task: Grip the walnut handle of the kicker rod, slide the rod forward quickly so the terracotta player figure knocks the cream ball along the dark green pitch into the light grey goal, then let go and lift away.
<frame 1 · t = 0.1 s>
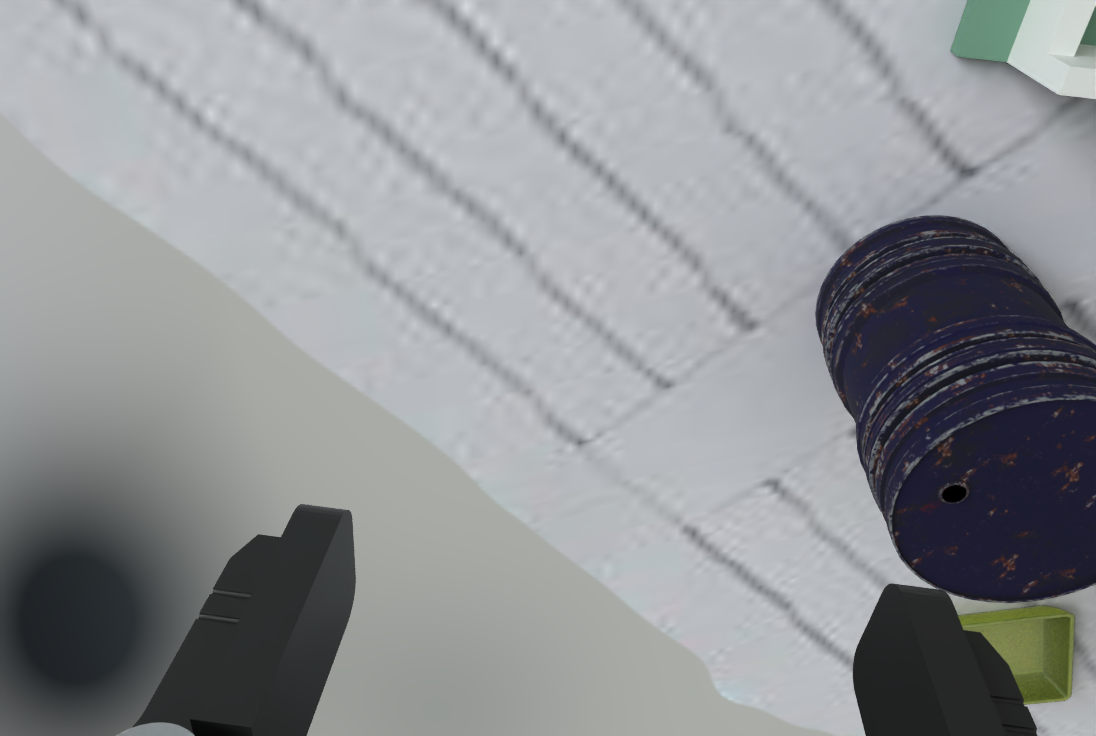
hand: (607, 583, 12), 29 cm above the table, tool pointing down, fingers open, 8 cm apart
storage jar: (913, 303, 42), on the table
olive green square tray: (986, 638, 55), on the table
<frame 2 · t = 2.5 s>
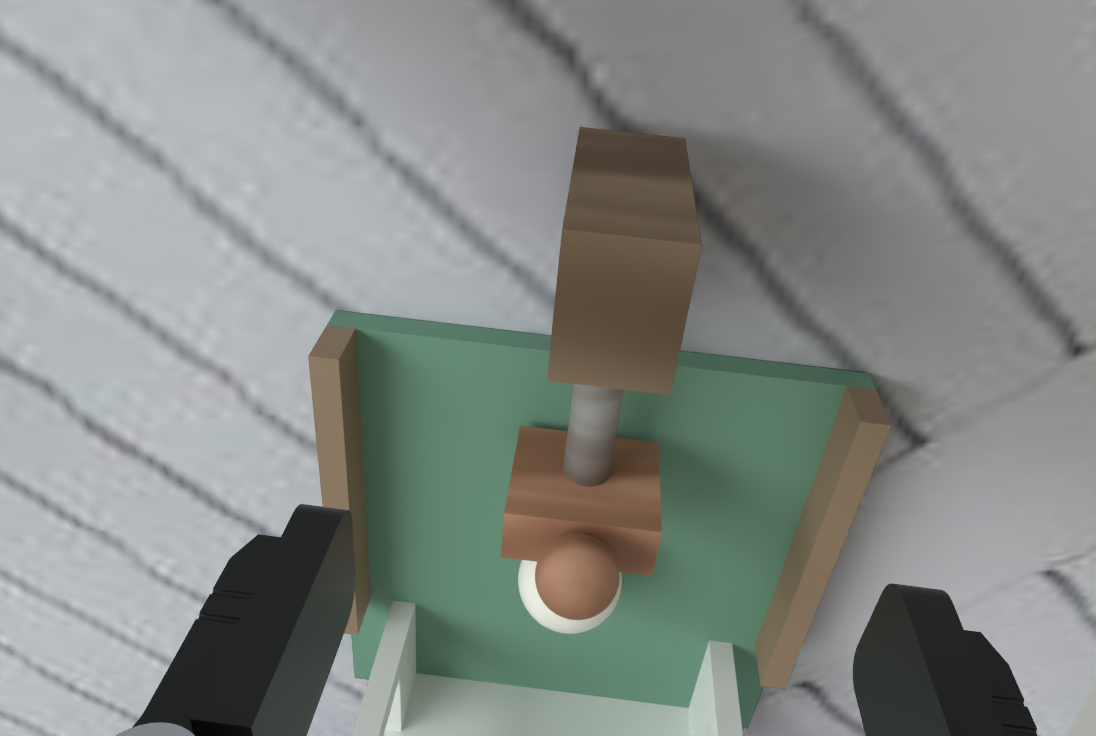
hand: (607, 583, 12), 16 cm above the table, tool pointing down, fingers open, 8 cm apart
kicker: (600, 393, 24), point 5 cm above the table, slide at 0.0 cm
ball: (569, 579, 32), point 3 cm above the table, touching pitch
pitch: (572, 540, 35), on the table
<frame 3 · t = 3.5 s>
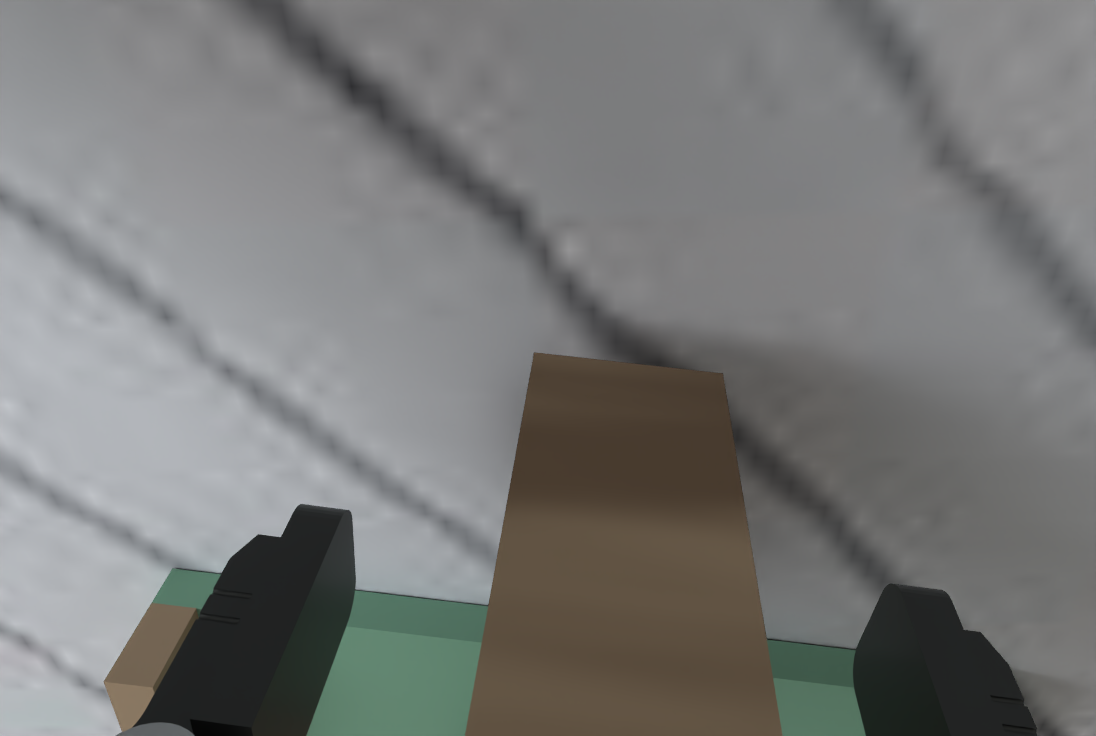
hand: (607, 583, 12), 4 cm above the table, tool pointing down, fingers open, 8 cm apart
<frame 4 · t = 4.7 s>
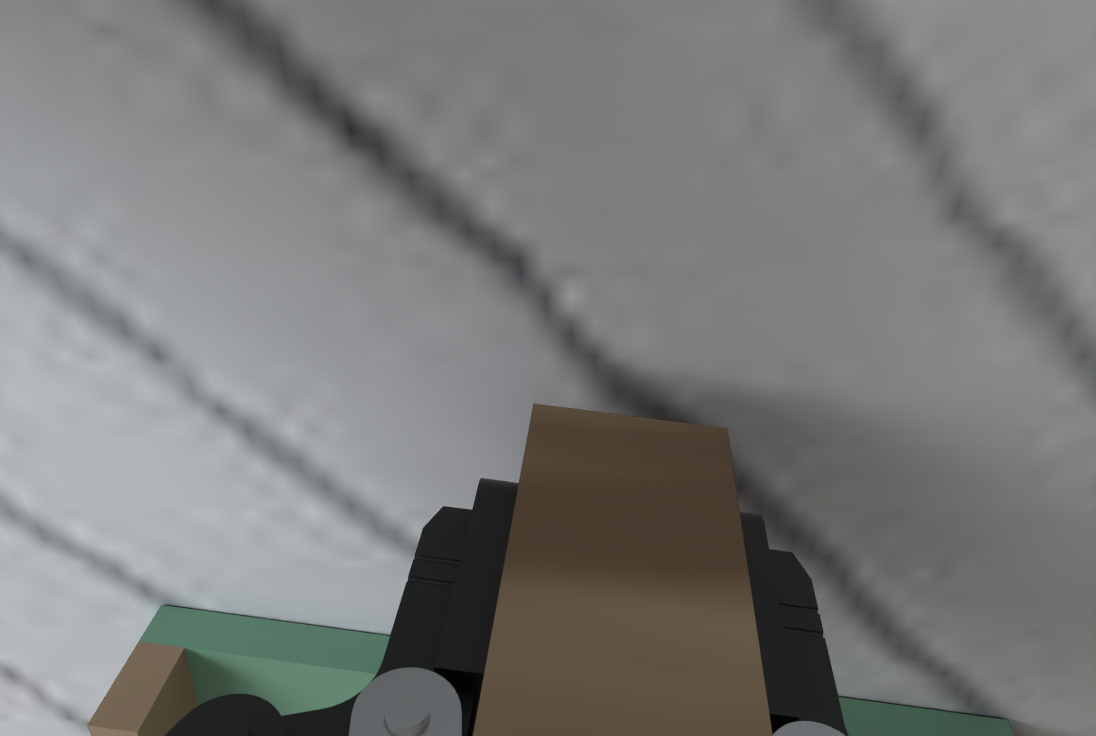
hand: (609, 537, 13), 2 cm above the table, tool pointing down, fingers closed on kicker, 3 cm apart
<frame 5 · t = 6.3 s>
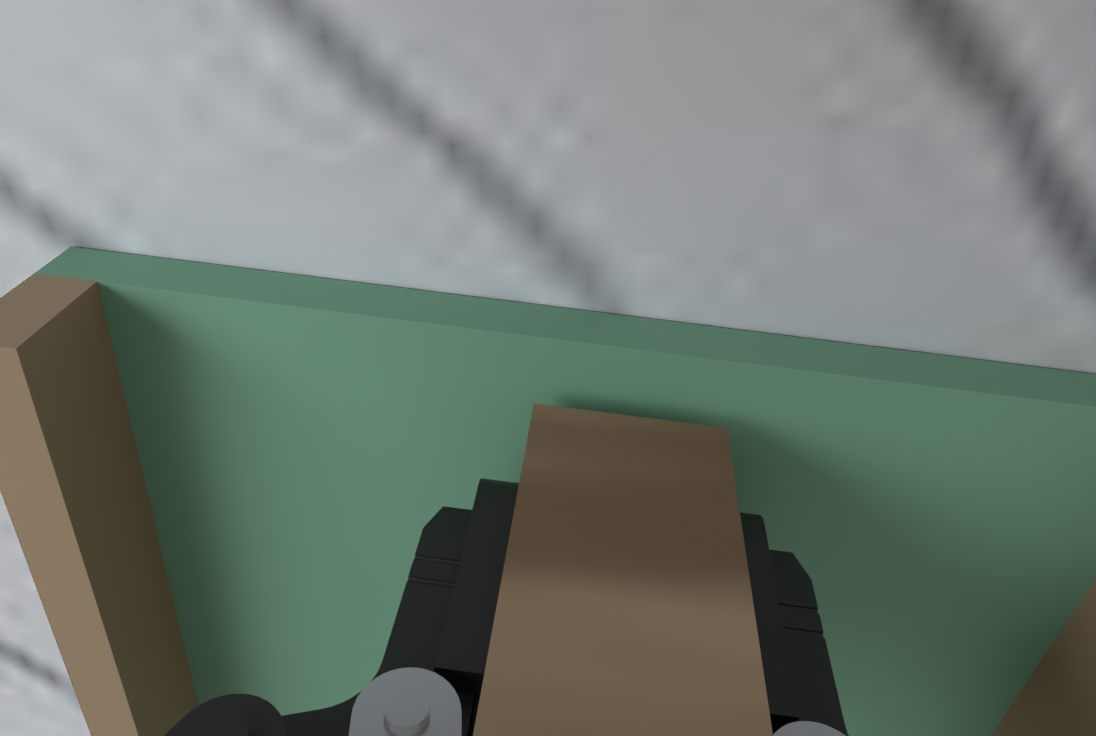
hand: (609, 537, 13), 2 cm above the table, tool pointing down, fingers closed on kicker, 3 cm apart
pitch: (573, 692, 19), on the table
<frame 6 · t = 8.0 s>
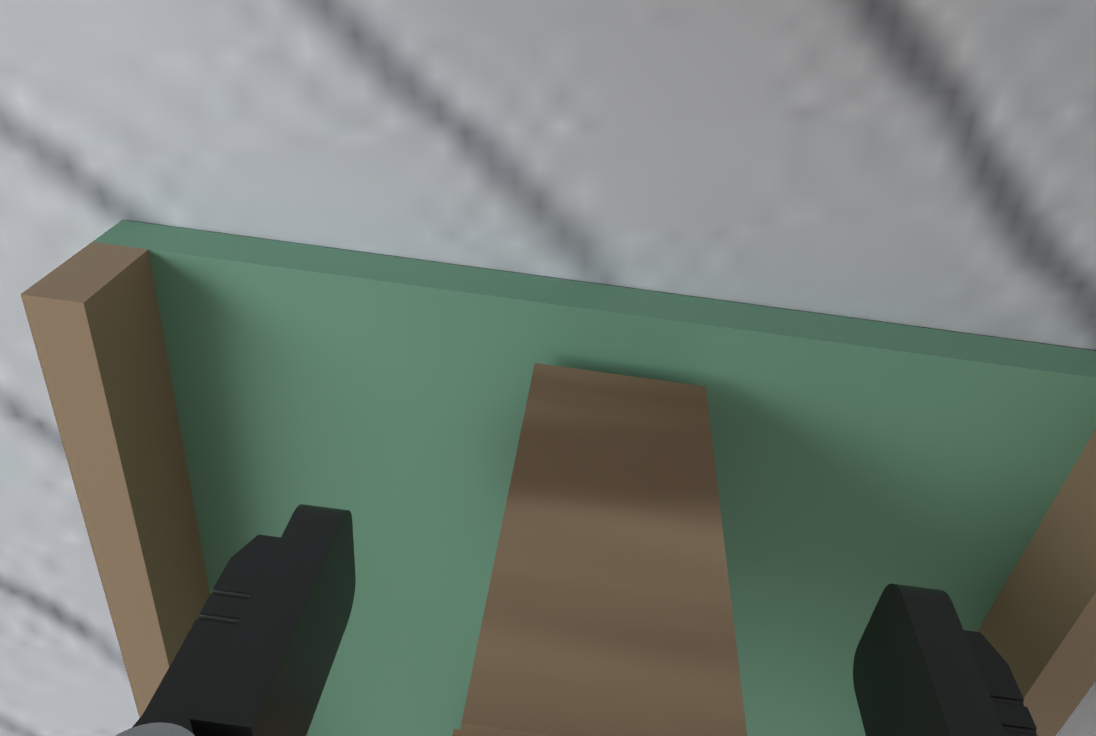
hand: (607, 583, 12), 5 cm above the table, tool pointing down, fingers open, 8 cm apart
pitch: (567, 643, 21), on the table
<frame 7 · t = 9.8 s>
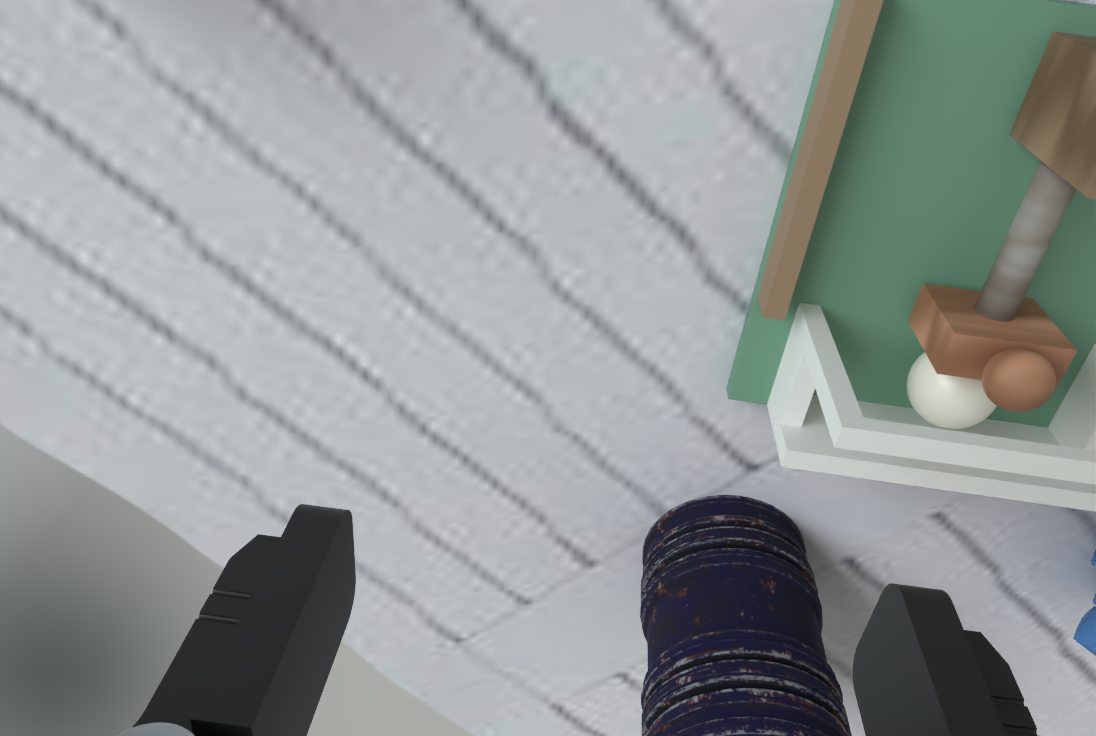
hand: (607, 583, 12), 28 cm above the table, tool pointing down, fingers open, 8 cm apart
kicker: (1053, 234, 32), point 5 cm above the table, slide at 8.9 cm
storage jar: (722, 553, 50), on the table
ball: (953, 385, 38), point 3 cm above the table, tilted 162°, touching pitch
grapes: (1091, 541, 47), on the table
pitch: (983, 238, 38), on the table
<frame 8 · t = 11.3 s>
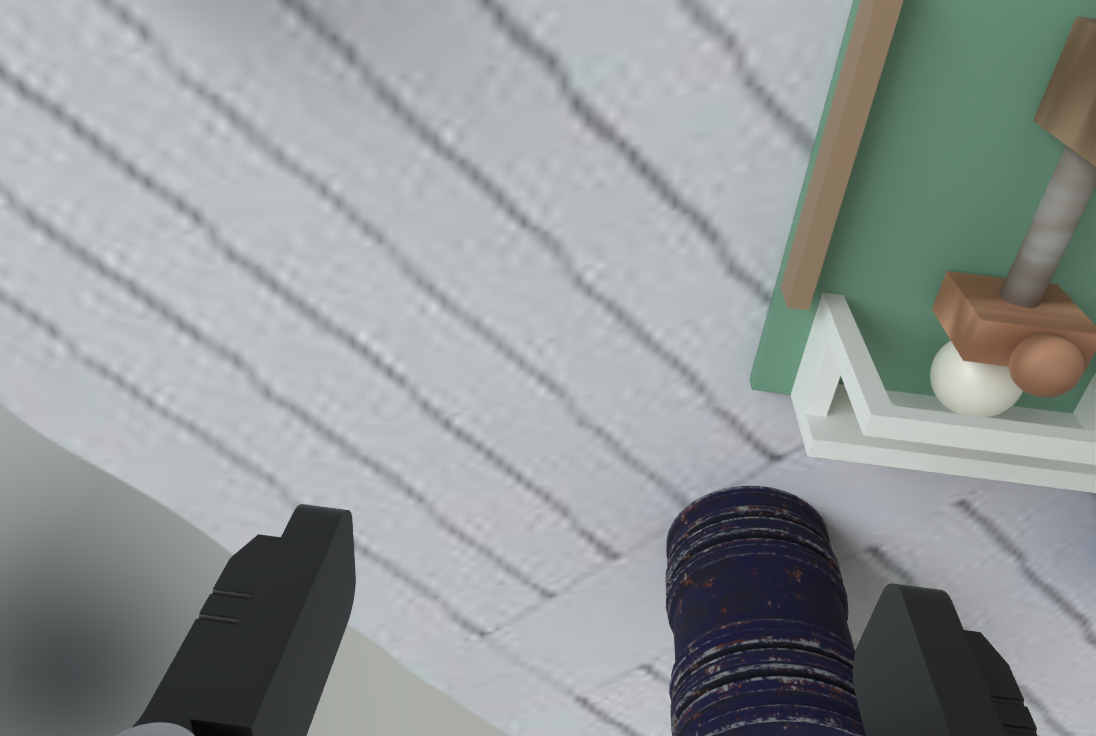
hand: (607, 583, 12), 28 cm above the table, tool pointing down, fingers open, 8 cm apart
kicker: (1079, 219, 32), point 5 cm above the table, slide at 8.9 cm
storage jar: (745, 543, 50), on the table
ball: (977, 375, 39), point 3 cm above the table, tilted 159°, touching pitch
pitch: (1006, 225, 38), on the table
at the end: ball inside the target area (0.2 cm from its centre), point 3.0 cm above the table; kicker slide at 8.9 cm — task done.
